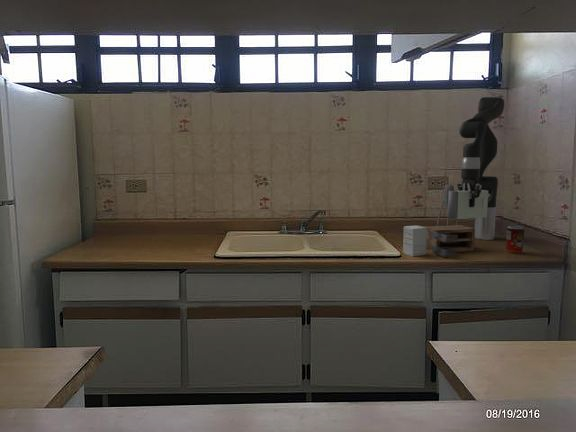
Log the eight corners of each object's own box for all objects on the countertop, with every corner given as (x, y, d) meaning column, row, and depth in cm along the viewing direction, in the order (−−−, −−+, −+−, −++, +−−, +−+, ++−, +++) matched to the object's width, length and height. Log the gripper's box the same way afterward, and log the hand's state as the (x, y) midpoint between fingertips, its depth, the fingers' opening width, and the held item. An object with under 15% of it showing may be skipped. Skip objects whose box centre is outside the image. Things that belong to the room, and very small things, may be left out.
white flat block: (445, 218, 197) (447, 191, 196) (481, 216, 204) (482, 190, 202) (452, 219, 193) (454, 191, 191) (488, 217, 199) (490, 190, 198)
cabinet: (419, 248, 214) (419, 226, 213) (459, 245, 220) (460, 224, 218) (444, 258, 194) (446, 234, 193) (488, 255, 200) (489, 232, 198)
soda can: (513, 254, 201) (515, 227, 199) (502, 251, 207) (503, 225, 206) (526, 253, 203) (528, 227, 201) (514, 250, 209) (516, 224, 208)
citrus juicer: (447, 246, 220) (450, 185, 216) (429, 243, 227) (431, 184, 223) (458, 242, 227) (461, 184, 223) (440, 240, 235) (443, 183, 231)
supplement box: (415, 251, 207) (416, 225, 205) (426, 255, 200) (427, 227, 198) (402, 253, 204) (403, 226, 203) (412, 256, 198) (413, 228, 196)
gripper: (489, 168, 191) (487, 208, 193) (466, 167, 204) (464, 205, 206) (475, 168, 188) (473, 208, 191) (452, 167, 202) (450, 205, 204)
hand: (468, 206), depth 198 cm, fingers closed on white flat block, 3 cm apart
